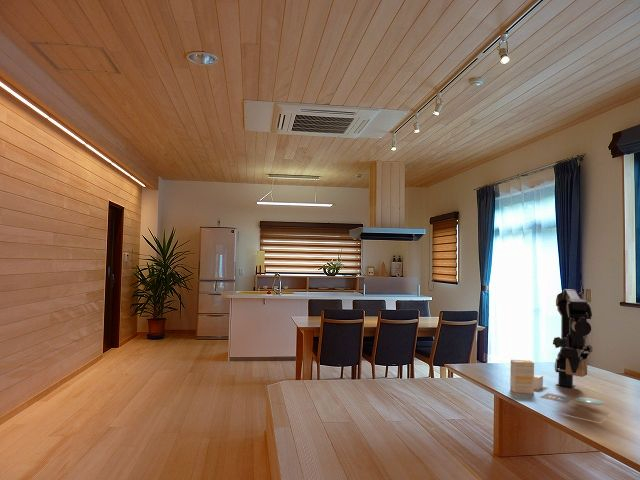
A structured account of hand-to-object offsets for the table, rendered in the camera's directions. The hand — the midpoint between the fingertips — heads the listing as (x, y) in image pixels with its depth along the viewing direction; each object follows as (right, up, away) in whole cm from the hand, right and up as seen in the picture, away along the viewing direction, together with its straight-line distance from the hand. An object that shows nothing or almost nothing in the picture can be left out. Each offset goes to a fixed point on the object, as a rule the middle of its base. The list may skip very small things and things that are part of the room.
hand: (576, 371), depth 192 cm
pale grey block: (-9, -11, +16) cm, 22 cm away
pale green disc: (+5, -12, -2) cm, 12 cm away
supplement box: (-18, -11, +8) cm, 23 cm away
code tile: (-7, -11, +1) cm, 13 cm away
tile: (-9, -12, +16) cm, 22 cm away
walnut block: (0, -1, 0) cm, 1 cm away
